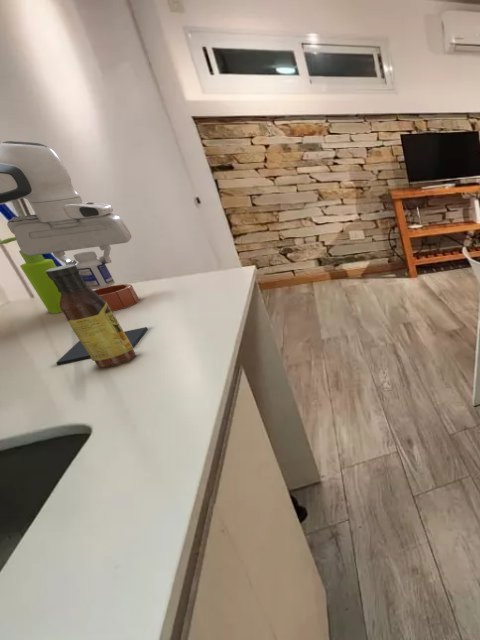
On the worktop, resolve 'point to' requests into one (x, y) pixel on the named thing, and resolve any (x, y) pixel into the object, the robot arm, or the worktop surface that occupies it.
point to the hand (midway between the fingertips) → (90, 265)
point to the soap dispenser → (40, 278)
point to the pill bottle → (93, 270)
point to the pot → (118, 296)
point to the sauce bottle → (91, 318)
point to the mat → (80, 352)
